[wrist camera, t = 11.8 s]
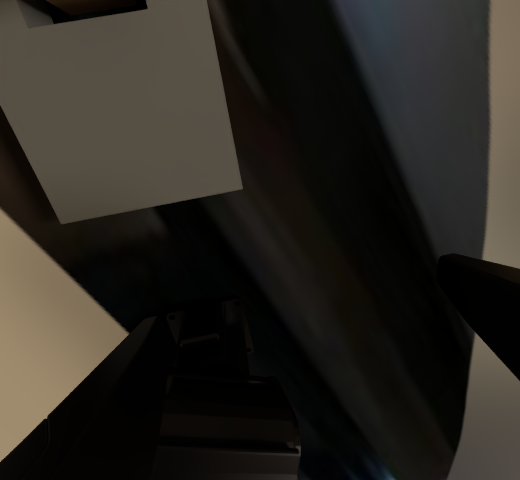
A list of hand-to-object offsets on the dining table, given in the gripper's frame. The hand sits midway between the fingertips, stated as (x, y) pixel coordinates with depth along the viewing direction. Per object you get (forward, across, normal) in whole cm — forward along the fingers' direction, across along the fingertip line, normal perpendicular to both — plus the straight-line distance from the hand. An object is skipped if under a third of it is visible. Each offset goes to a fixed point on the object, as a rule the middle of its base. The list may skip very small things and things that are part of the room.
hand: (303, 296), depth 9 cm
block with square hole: (+13, +6, -9) cm, 17 cm away
